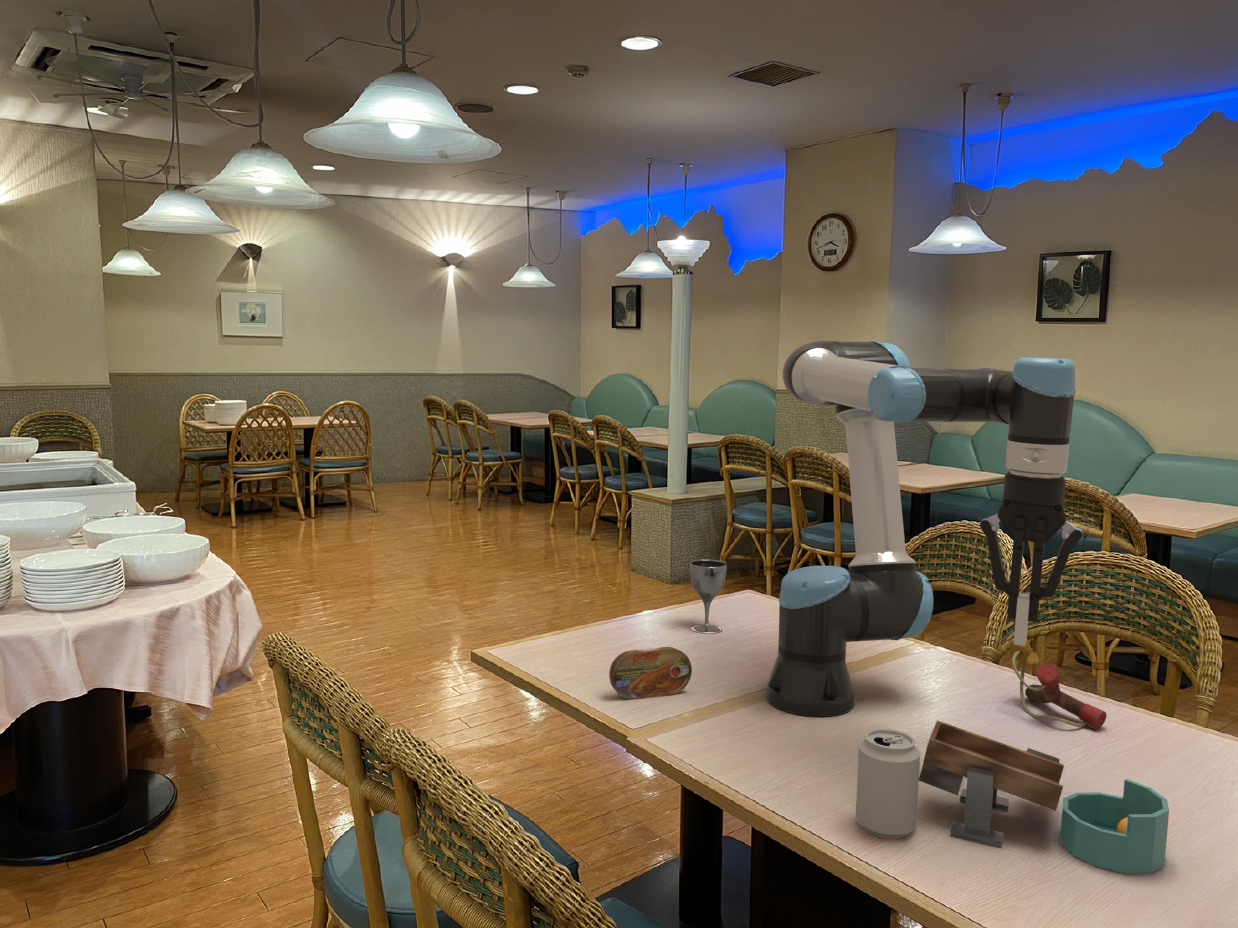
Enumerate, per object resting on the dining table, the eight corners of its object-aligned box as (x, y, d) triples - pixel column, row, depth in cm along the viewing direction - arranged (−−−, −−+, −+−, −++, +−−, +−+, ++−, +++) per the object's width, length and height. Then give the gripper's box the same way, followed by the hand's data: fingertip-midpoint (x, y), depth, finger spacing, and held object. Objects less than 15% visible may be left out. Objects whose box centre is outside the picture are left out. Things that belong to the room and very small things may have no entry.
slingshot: (1075, 698, 164) (1127, 703, 149) (1042, 742, 162) (1092, 752, 147) (1004, 634, 165) (1049, 633, 150) (970, 678, 163) (1012, 681, 148)
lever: (917, 782, 119) (929, 739, 117) (932, 745, 130) (943, 705, 129) (1049, 833, 112) (1062, 787, 111) (1052, 789, 124) (1064, 747, 123)
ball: (1137, 864, 109) (1109, 838, 110) (1135, 848, 113) (1108, 823, 114) (1163, 845, 108) (1135, 818, 109) (1160, 829, 111) (1133, 804, 113)
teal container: (1059, 858, 110) (1063, 802, 109) (1061, 817, 120) (1064, 766, 119) (1167, 883, 105) (1172, 825, 104) (1159, 838, 115) (1164, 785, 114)
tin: (612, 702, 158) (613, 655, 157) (606, 696, 161) (607, 649, 160) (691, 693, 163) (693, 647, 162) (685, 687, 166) (686, 642, 165)
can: (847, 812, 120) (851, 725, 119) (902, 811, 121) (906, 724, 120) (867, 842, 113) (871, 749, 111) (925, 840, 113) (930, 748, 112)
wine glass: (687, 633, 200) (688, 565, 198) (690, 623, 208) (691, 558, 206) (723, 635, 199) (725, 567, 197) (725, 625, 206) (727, 560, 205)
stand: (950, 835, 115) (954, 771, 114) (962, 794, 126) (965, 735, 125) (1001, 847, 112) (1005, 781, 111) (1008, 804, 123) (1012, 743, 122)
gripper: (980, 472, 122) (966, 641, 125) (1089, 481, 116) (1072, 659, 119) (986, 465, 128) (972, 627, 132) (1089, 474, 123) (1072, 642, 126)
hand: (1020, 642), depth 126 cm, fingers closed
